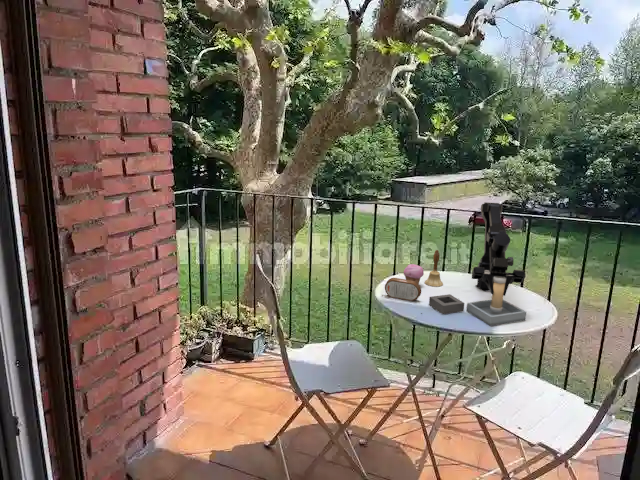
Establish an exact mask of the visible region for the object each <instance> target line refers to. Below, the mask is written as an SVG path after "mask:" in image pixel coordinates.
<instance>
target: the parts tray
mask: <svg viewBox="0 0 640 480" xmlns="http://www.w3.org/2000/svg"><path fill="white" fill-rule="evenodd" d="M491 301H492V299H486V300H477V301H470V302H467V304H466V313H469V314H470V315H472V316H473V317H475V318H477V319H479V321H482V322H483V323H484V324H486V325H488V326H490V327H492V326H493V327H494V326H497V325H507V324H511V323H519V322H525V321H526V318H527V311H526V310H524V309H522V308H520V307H518V306H517V305H514V304H512V303H510V302H508V301H506V300H505V299H503V304H502V307H503V308H502V312H494V311H491V310H490V305H491Z"/></svg>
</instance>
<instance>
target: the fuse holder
mask: <svg viewBox="0 0 640 480" xmlns="http://www.w3.org/2000/svg"><path fill="white" fill-rule="evenodd" d="M428 305H429V306H430V307H432V308H433V309H434V310H436V311H437V312H439V313H440V314H442V315H446V314H447V315H448V314H455V313H460V312H465V302H464V301H462V300H460V299H459V298H457V297H455V296H454V295H452V294H442V295H441V294H440V295H433V296H429V300H428Z"/></svg>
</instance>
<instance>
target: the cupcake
mask: <svg viewBox="0 0 640 480" xmlns="http://www.w3.org/2000/svg"><path fill="white" fill-rule="evenodd" d="M403 275H404V277H405V280H411V281H415V282H417V283H418V284H419V285H420V280H421V278H422V277H424V275H425V274H424V268H423V267H422V266H420V265H418V264H413V263H412V264H411V263H410V264H408V265H407V266H406V267H405V268H404V270H403Z"/></svg>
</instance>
